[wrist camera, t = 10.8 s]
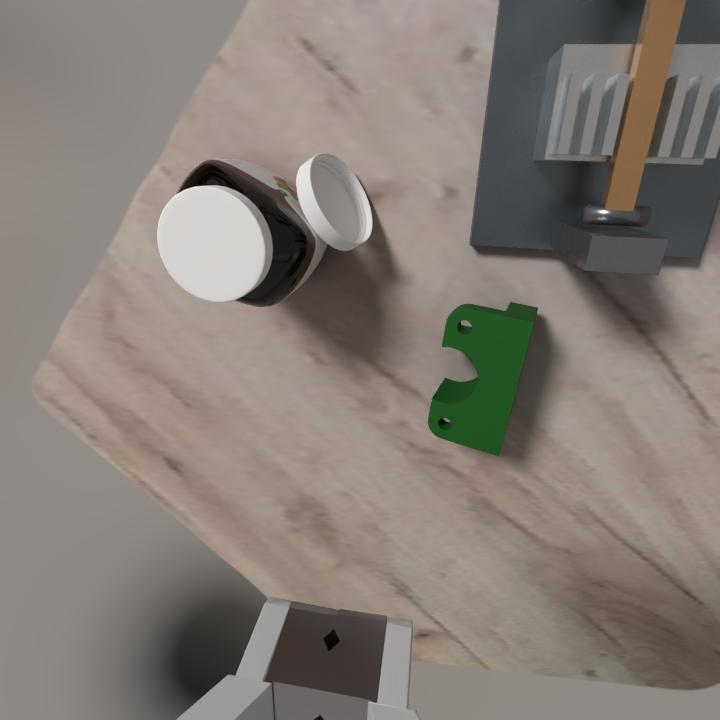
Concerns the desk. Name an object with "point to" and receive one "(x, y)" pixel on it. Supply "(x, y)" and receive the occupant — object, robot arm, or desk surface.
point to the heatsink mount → (595, 134)
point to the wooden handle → (638, 117)
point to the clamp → (482, 375)
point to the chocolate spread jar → (259, 227)
